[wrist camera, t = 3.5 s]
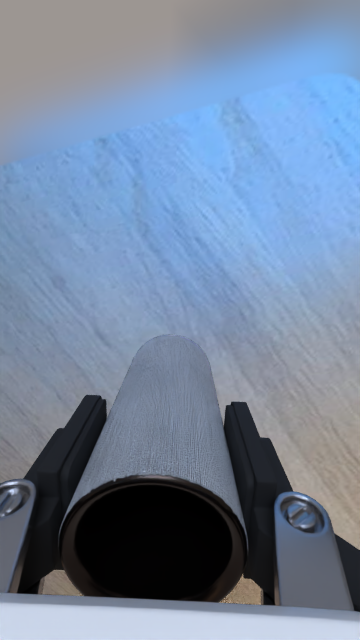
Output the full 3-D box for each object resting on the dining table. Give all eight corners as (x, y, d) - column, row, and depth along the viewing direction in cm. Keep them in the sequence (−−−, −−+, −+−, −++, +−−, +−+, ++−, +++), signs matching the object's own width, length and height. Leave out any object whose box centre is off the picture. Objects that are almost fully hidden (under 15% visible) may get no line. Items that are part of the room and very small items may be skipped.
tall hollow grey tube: (185, 418, 18) (189, 647, 8) (118, 384, 17) (26, 582, 7) (225, 357, 17) (288, 528, 7) (154, 319, 16) (106, 443, 6)
